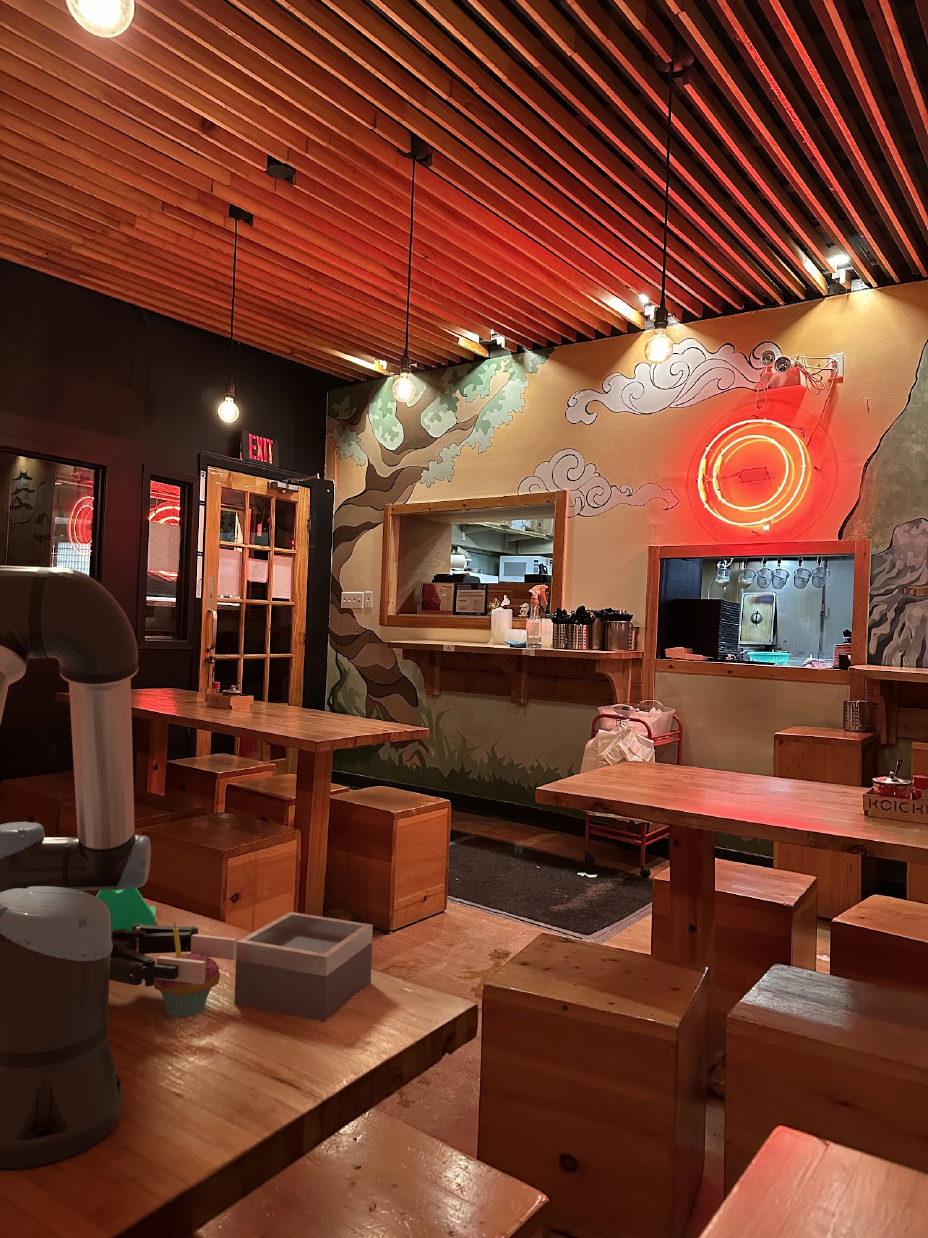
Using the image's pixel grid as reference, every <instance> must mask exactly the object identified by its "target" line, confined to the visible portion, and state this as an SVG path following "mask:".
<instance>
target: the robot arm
mask: <svg viewBox="0 0 928 1238" xmlns="http://www.w3.org/2000/svg"><path fill="white" fill-rule="evenodd" d="M29 659H55V660H58V665H59V668H58V669H59V674H60V675H59V676H60V677H61V678H62V679H63V681H66V682H67V683H68V690H69V691H68V692H69V706H70V708H69V709H70V724H71V740H72V759H73V760H72V761H73V762H72V763H73V777H74V778H73V779H74V792H75V793H74V795H75V810H76V811H75V812H76V828H77V836H76V837H75V836H74V837H71V836H70V837H65V836H64V837H46V834H45V829H44V826H43V825H42V824H41V823H38V822H29V821H16V822H14V821H13V822H7V823H3V824H2V823H1V824H0V1169H2V1170H7V1169H9V1170H10V1169H11V1170H12V1169H25V1168H33V1167H37V1166H43V1165H48V1164H51V1163H52V1164H53V1163H54V1162H59V1161H61V1160H64V1159H68V1158H70V1157H72V1156H75V1155H78V1154H79V1153H81V1152H83V1151H85V1150H87V1149H89V1148H91V1147H93V1146H94V1145H96V1144H97V1143H99V1142H100V1141H102V1140H103V1139H104V1138H106V1137H107V1136H108V1135H109V1134H110V1133H111V1132H112V1131H113V1130H114V1128H115V1127H116V1126H117V1125H118V1123H119V1122H120V1120H121V1117H122V1115H123V1096H124V1095H123V1092H124V1090H123V1085H122V1082H121V1079H120V1077H119V1076H118V1075H117V1072H116V1067H115V1062H114V1058H113V1054H112V1050H111V1047H110V1044H109V1041H108V1023H109V1022H108V1021H109V999H110V997H109V995H110V981H113V982H118V983H123V984H126V985H131V986H135V987H136V986H140V985H142V983H143V980H144V987H152V986H154V977H155V978H156V979H161V980H169V981H178V982H186V983H194V984H203V983H205V966H206V961H199V960H191V959H182V958H173V957H174V956H173V957H172V956H165V955H160V956H158V957H156V959H155V958H154V957H150V956H148V954H150V955H151V954H170V953H171V954H173V953H174V954H176V949H175V941H174V932H173V929H174V925H172V926H171V925H167V926H166V925H155V926H150V925H144V924H138V923H136V924H133V925H132V931H127V930H125V929H117V930H113V931H111V917H110V912H109V909H108V907H107V906H106V904H105V903H104V902H103V901H102V900H100V899H99V898H97V897H96V896H95V895H93V894H91V893H90V892H87V891H100V890H113V891H116V890H122V889H131V888H137V889H139V888H141V887H143V886H144V885H146V883H147V881H148V879H149V874H150V869H151V856H152V845H151V840H150V837H148V836H147V835H139V834H135V803H134V802H135V797H134V794H135V793H134V762H133V761H134V759H133V756H134V755H133V728H132V727H133V722H132V686H131V684H132V683H131V682H132V681H131V679H132V678H134V676H135V675H137V673H138V671H139V649H138V643H137V639H136V636H135V632H134V629H133V628H132V625H131V623H130V620H129V619H128V616H127V615H126V613H125V611H124V610H123V608H122V606H121V605H120V604H119V603H118V601H117V600H116V599H115V597H114V596H113V595H112V593H110V591H108V590H107V589H106V588H105V587H104V586H103V585H102V584H101V583H100V582H98V581H97V580H95V578H92V577H91V576H89V575H87V574H85V573H84V572H82V571H79V570H77V569H72V568H68V567H60V566H52V567H44V566H43V567H42V566H19V565H0V725H1V723H2V718H3V713H4V709H5V706H6V705H5V704H6V699H7V694H8V690H9V686H10V685H11V684H14V683H16V682H17V681H19V680H20V679H22V678H23V676H24V675H25V674H26V670H27V666H28V661H29ZM85 891H86V892H85ZM176 928H178V931H179V939H180V947H181V953H190V954H193V953H194V954H196V953H198V954H204V955H206V956H207V957H209V958H211V959H223V960H231V961H235V960H236V947H237V941H238V940H237V938H235V937H227V936H225V937H224V936H215V935H214V936H213V935H208V934H199V928H198V927H197V926H176ZM137 946H138V947H137ZM137 949H138V950H137ZM155 960H156V961H155Z"/></svg>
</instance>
